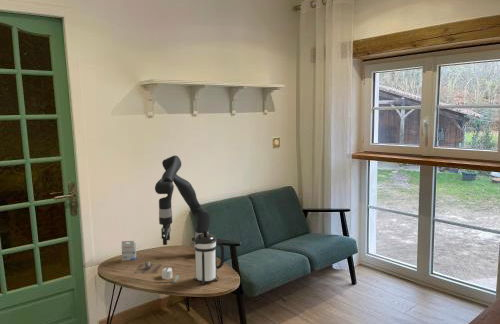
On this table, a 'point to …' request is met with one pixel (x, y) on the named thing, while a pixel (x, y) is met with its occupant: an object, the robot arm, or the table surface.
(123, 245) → the ink box
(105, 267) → the table surface
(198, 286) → the table surface
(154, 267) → the post base
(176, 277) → the sage mat
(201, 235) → the coffee press
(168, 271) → the cap
